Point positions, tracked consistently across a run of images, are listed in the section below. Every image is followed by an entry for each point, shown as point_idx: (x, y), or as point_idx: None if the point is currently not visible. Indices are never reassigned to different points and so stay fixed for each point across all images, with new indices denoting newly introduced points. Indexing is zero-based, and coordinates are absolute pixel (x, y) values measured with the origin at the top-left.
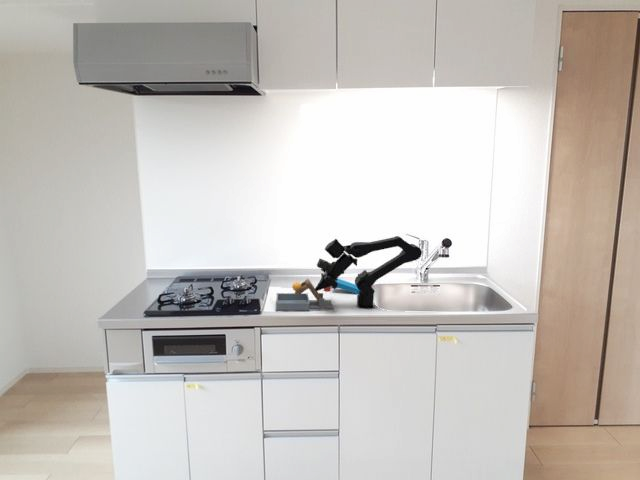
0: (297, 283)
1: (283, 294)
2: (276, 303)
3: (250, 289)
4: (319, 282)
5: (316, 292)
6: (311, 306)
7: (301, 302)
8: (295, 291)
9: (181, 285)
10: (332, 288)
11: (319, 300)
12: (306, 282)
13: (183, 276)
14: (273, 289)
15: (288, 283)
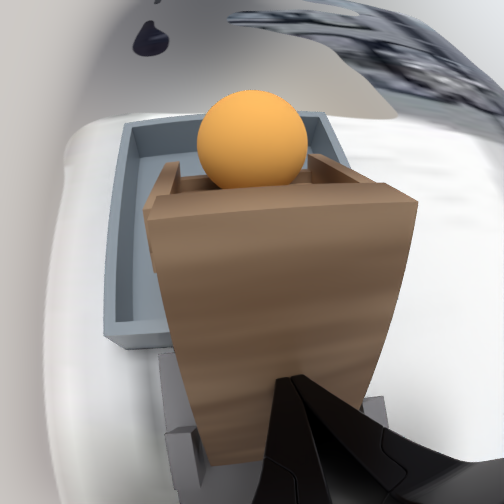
0: (226, 110)
1: (329, 144)
2: (124, 125)
3: (410, 84)
4: (350, 450)
5: (226, 404)
6: None
7: None
8: None
9: (352, 6)
10: None
11: (168, 436)
12: (232, 194)
13: (408, 19)
14: (456, 144)
15: None
